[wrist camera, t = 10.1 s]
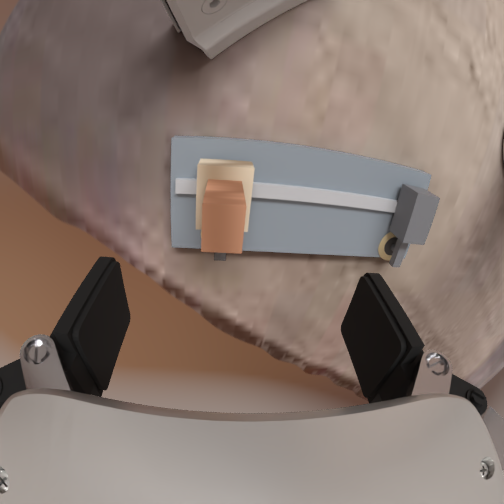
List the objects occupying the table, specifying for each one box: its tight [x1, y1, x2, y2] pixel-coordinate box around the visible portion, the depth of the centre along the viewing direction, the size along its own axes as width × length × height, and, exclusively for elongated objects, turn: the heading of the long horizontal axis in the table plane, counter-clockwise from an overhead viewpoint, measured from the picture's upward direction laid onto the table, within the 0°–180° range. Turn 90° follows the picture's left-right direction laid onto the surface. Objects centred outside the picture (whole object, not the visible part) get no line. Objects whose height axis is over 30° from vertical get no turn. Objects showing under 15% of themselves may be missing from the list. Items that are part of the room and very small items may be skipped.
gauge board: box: [171, 136, 440, 267], centre depth 23 cm, size 25×10×5 cm, turn 84°
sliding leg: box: [196, 159, 255, 261], centre depth 20 cm, size 4×8×8 cm, turn 174°
